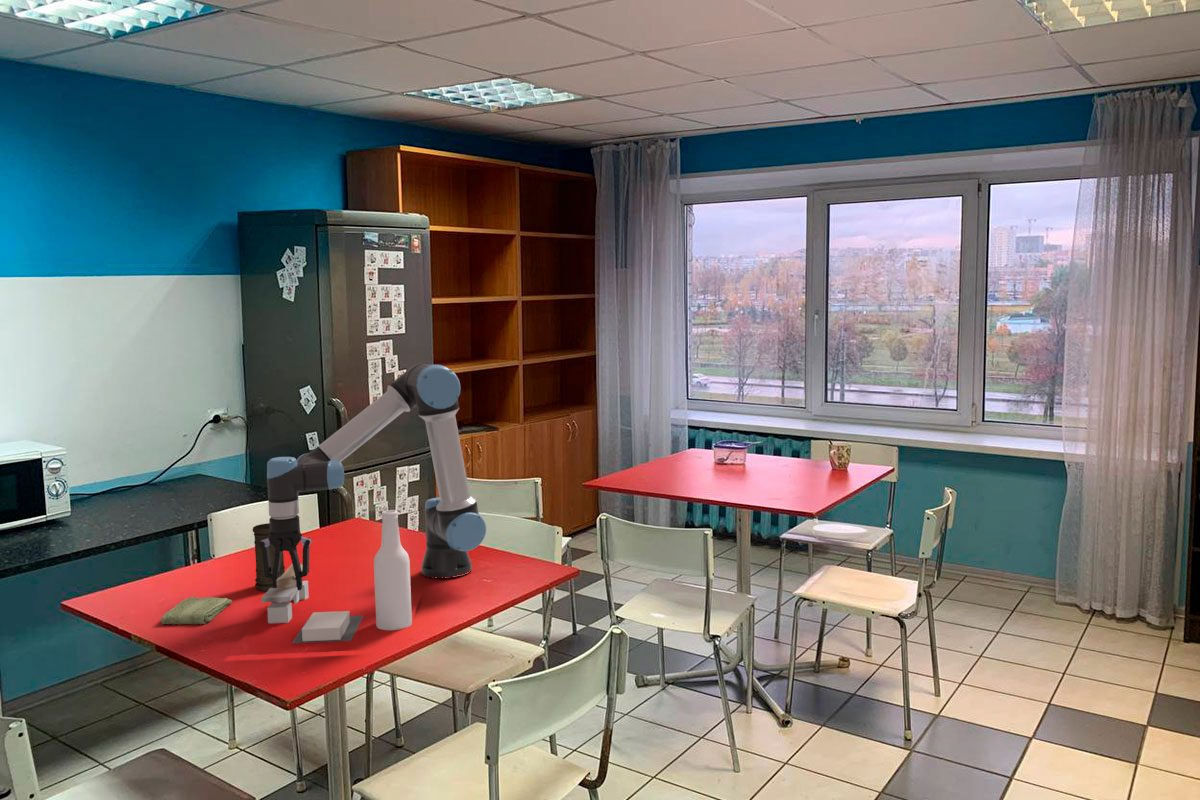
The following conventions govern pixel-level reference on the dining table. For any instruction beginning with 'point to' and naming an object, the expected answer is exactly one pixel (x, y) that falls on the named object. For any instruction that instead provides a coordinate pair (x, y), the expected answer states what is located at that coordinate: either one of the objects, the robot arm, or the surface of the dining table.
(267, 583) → the container
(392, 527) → the alcohol
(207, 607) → the washcloth
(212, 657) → the dining table surface
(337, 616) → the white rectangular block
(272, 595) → the beige tapered bar
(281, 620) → the tool rest
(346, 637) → the mat
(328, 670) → the dining table surface
